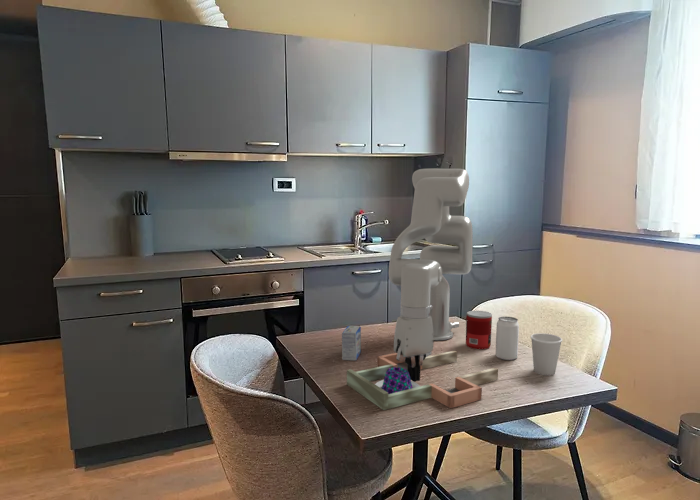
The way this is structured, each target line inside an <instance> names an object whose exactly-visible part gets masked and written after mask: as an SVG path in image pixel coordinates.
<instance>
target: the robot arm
mask: <svg viewBox="0 0 700 500" xmlns="http://www.w3.org/2000/svg"><path fill="white" fill-rule="evenodd" d="M411 181H412V185H413V188H414V194H413V201H412V208H411V209H412V210H411V220H410V224H409V225H408V226H407V227H406V228H405V229H404V230H402V232H401V233H400V234H399V235H398V236H397V237H396V239H395V240H394V241H393V242H394V243H393V244H392V247H391V251H390V258H389V264H388V279H389V281H390V283H392V284H393V285H395V286H400V316H397V318H396V323H395V328H394V337H393V351H394V352H393V353H397V357H396V359H397V360H398V361H400V362H405V363H406V364H407V365H408V372H409V375H410V379H411V381H413V382H415V383H417V382H419V381H421V370H420V366H422V364H423V360H424V359H425V358H426V357H428V356H432V351H433V349H434V341H445V340H450V339H452V338H453V337H454V333H453V331H452V329H456V328H459V326H460V324H459V322H458V321H455V322H454V321H453V322H451V321H450V295H451V293H450V292H451V291H450V288H451V287H450V283H449V282H448V280H447V279H446V277H445V276H444V275H467V274H469V273H470V272H471V270H472V267H473V266H472V265H473V235H474V233H473V224H472V223H473V222H472V221H471V219H470V218H469V217H467V216H464V215H451V214H450V207H461V206H463V205H464V202H465V201H466V198H467V194H468V191H469V185H470V177H469V174H468V171H467V170H465V169H464V168H434V167H433V168H420V169H417V170H415V171H414V172H413V173H412V178H411ZM424 239H425V241H426V242H427V243H430V244H432V245H428V246H425V247H423V248H422V250H421V251H420V253H419V258H402V256H403V253H404V252H405V250H407V248H408V247H410V246H411V245H412V244H415V243H417V242H420V241H422V240H424ZM434 244H437V245H434ZM438 244H439V245H438ZM451 245H452V246H451ZM454 245H455V246H454Z"/></svg>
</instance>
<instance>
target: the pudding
mask: <svg viewBox="0 0 700 500" xmlns="http://www.w3.org/2000/svg"><path fill="white" fill-rule="evenodd" d="M374 384H375V385H377V386H378V387H380V388H381V389H383V390H384V391H386V392H388V394H392V393H396V392H400V391H404V390H408V389H412V388H416V387H420V386H421V385H420V384H418V383H417V382H414V381H412V380H411V379H410V375H409V372H408V370H406V369H403V368H400V367H398V368H396V367H393V368H389V369H388V370H387V371H386V374H385V378H383V379H380V380H379V381H377V382H376V383H374Z"/></svg>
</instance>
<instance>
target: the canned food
mask: <svg viewBox="0 0 700 500" xmlns="http://www.w3.org/2000/svg"><path fill="white" fill-rule="evenodd" d="M465 320H466V321H465V322H466V323H465V344H466V346H467V347H468V348H470V349H473V350H488V349H490V347H491V344H492V326H493V325H492V324H493V322H492V321H493V314H492V313H491V312H489V311H486V310H470V311H467V312H466V319H465Z"/></svg>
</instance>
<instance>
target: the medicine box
mask: <svg viewBox="0 0 700 500" xmlns="http://www.w3.org/2000/svg"><path fill="white" fill-rule="evenodd" d="M361 339H362V327H361V326H359V325H347V326H346V327H345V328H344V329H343V331H342V332H341V359H342V361H351V362H352V361H354V362H356V361H357V360H358V358H359V356H360V354H361V351H362V350H361V349H362V348H361V347H362V346H361V345H362V340H361Z"/></svg>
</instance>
